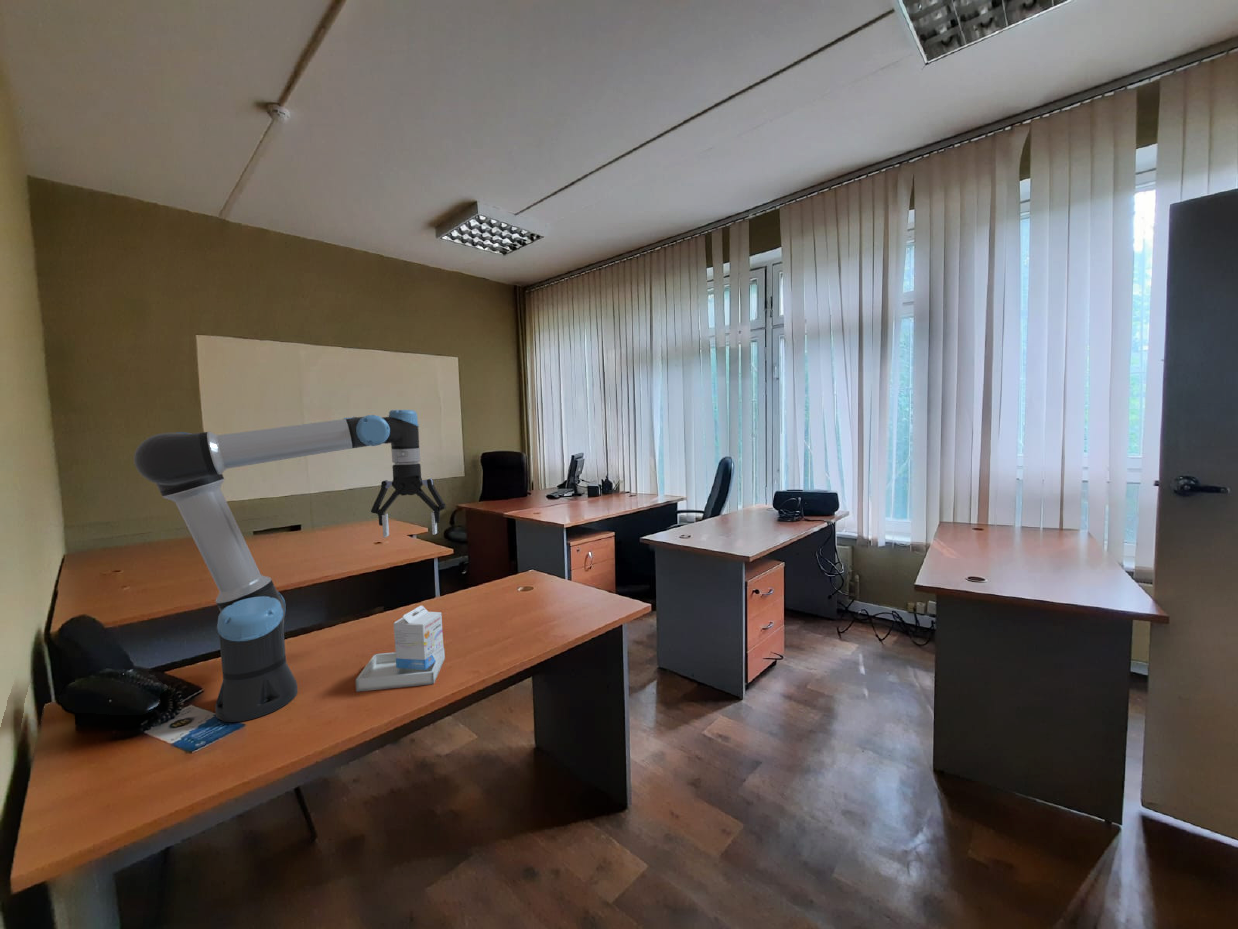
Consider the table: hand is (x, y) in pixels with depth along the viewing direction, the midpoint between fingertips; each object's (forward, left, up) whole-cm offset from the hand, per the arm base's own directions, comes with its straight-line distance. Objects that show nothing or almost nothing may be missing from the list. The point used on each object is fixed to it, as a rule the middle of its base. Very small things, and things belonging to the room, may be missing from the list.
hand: (410, 535), depth 140 cm
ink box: (+6, -21, -29) cm, 36 cm away
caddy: (+2, -21, -32) cm, 38 cm away
